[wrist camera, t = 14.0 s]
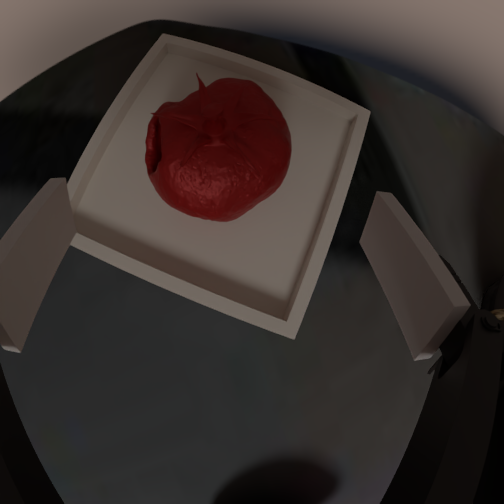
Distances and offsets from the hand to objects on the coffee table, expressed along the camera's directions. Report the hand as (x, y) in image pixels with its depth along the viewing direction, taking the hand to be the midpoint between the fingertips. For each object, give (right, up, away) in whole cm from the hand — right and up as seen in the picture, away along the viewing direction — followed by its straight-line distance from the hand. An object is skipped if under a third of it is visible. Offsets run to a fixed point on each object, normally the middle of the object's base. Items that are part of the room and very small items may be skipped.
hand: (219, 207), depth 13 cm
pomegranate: (-1, +5, +12) cm, 13 cm away
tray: (-2, +5, +12) cm, 13 cm away
